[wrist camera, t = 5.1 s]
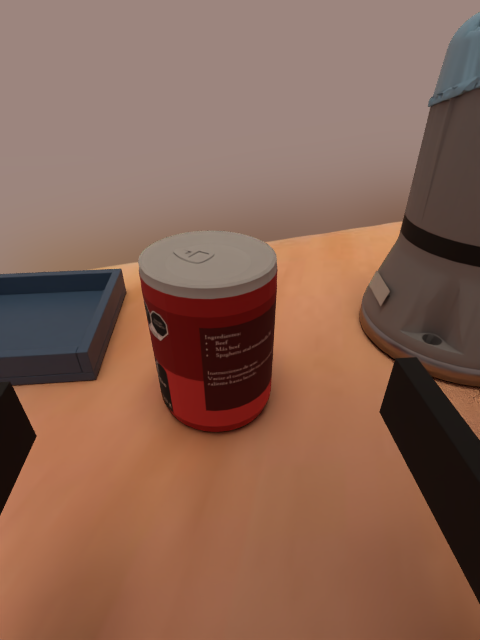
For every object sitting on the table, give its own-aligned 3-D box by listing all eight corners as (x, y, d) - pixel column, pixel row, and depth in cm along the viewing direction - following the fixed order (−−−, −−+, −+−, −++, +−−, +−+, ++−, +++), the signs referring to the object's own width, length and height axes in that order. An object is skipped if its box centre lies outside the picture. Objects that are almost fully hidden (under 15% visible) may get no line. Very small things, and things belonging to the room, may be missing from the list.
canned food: (186, 351, 31) (171, 224, 25) (280, 368, 29) (289, 236, 23) (142, 420, 25) (107, 275, 19) (256, 448, 23) (260, 297, 17)
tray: (126, 292, 39) (121, 268, 38) (96, 380, 28) (87, 351, 27) (-25, 299, 38) (-37, 275, 37) (-120, 394, 27) (-142, 365, 26)
